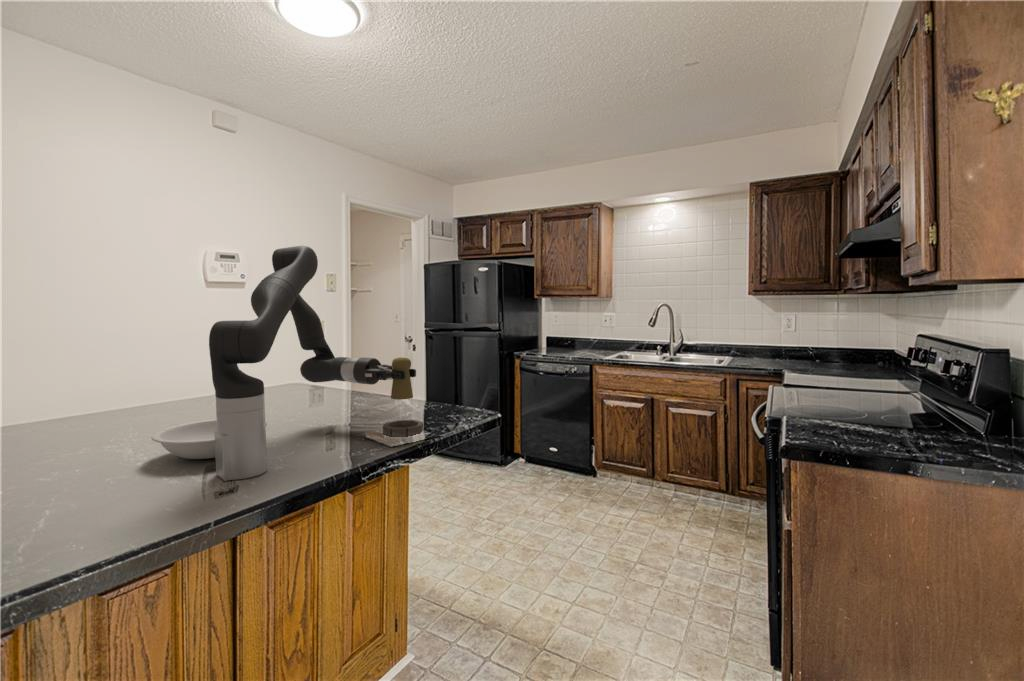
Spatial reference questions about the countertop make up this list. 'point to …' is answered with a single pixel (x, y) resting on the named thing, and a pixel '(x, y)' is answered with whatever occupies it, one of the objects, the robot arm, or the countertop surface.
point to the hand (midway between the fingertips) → (409, 374)
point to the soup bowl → (189, 439)
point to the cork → (402, 380)
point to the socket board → (398, 429)
